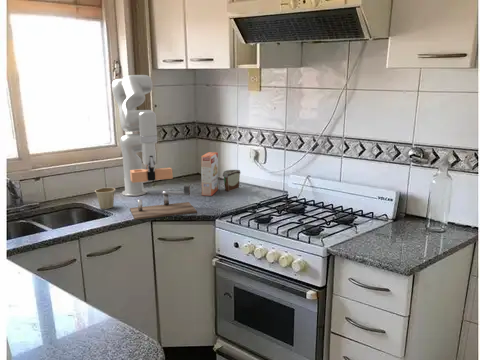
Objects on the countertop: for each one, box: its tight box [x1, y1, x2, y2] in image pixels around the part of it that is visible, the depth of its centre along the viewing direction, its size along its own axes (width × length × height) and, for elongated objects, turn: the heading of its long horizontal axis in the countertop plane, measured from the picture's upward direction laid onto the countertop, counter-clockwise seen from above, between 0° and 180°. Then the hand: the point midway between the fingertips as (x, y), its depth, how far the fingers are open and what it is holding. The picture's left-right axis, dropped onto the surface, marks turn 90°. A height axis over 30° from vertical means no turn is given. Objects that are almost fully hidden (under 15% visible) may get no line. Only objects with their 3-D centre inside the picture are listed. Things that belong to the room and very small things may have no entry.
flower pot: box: [94, 187, 116, 210], centre depth 224 cm, size 9×9×9 cm
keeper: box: [162, 184, 191, 196], centre depth 222 cm, size 13×3×4 cm, turn 85°
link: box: [130, 167, 174, 183], centre depth 214 cm, size 18×6×4 cm, turn 110°
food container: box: [222, 169, 242, 192], centre depth 256 cm, size 12×6×10 cm, turn 144°
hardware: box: [137, 195, 170, 211], centre depth 219 cm, size 2×16×5 cm, turn 130°
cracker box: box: [200, 151, 219, 197], centre depth 248 cm, size 14×6×21 cm, turn 168°
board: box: [129, 201, 198, 221], centre depth 217 cm, size 16×28×1 cm, turn 110°
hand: (150, 179), depth 214 cm, fingers closed on link, 3 cm apart
